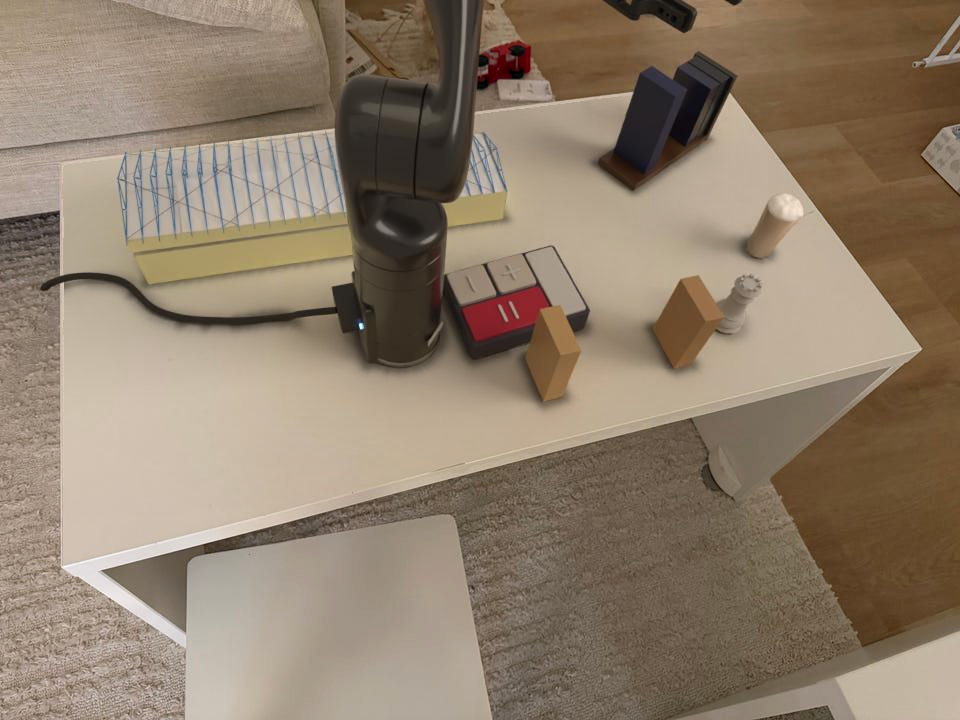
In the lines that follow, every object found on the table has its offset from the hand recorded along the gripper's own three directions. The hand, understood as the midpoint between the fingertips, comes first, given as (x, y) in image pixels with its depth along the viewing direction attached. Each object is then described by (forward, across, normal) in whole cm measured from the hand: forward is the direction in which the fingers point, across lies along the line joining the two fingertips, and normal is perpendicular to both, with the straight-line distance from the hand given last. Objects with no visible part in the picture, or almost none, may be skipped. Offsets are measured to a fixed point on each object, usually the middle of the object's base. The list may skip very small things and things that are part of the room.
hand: (718, 8), depth 65 cm
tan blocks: (+12, -18, +32) cm, 38 cm away
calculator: (-1, -22, +32) cm, 38 cm away
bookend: (-8, +16, +31) cm, 36 cm away
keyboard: (-27, -30, +32) cm, 51 cm away
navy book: (-8, +11, +30) cm, 33 cm away
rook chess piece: (+18, -2, +32) cm, 36 cm away
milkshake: (+14, +12, +32) cm, 36 cm away
